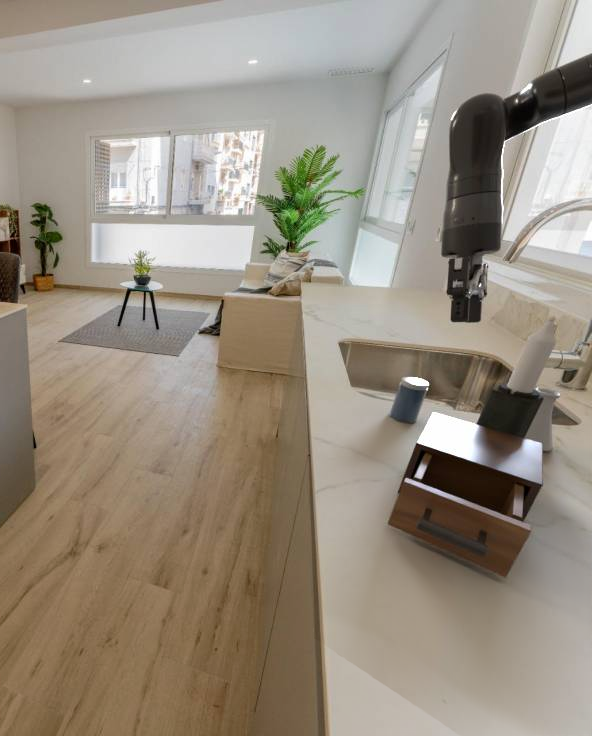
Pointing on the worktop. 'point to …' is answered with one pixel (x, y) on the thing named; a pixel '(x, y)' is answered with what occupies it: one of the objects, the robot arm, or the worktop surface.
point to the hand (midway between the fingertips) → (466, 322)
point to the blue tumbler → (409, 399)
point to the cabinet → (482, 453)
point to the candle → (520, 387)
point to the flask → (543, 420)
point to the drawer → (463, 512)
